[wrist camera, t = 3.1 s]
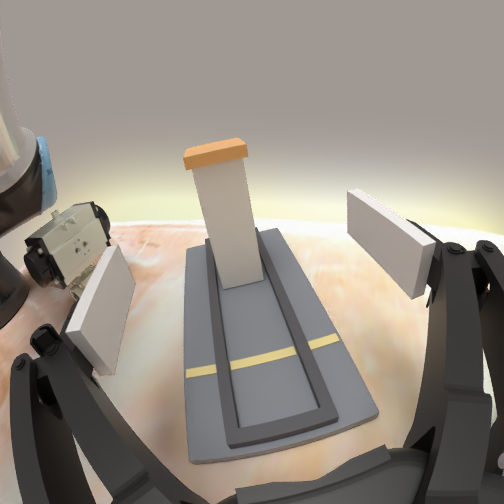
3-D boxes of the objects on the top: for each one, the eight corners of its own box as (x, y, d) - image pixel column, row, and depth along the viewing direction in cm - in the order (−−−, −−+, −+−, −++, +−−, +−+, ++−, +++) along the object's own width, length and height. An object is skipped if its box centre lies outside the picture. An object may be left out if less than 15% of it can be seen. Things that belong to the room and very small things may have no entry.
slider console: (376, 417, 14) (383, 406, 13) (194, 464, 13) (183, 457, 12) (278, 234, 36) (276, 221, 35) (188, 255, 35) (184, 242, 34)
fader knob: (268, 281, 26) (246, 144, 19) (219, 292, 26) (183, 158, 19) (258, 255, 30) (237, 137, 23) (216, 265, 30) (186, 148, 23)
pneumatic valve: (58, 320, 27) (11, 238, 20) (110, 266, 36) (79, 192, 30) (80, 330, 25) (26, 238, 19) (135, 270, 34) (102, 186, 28)
